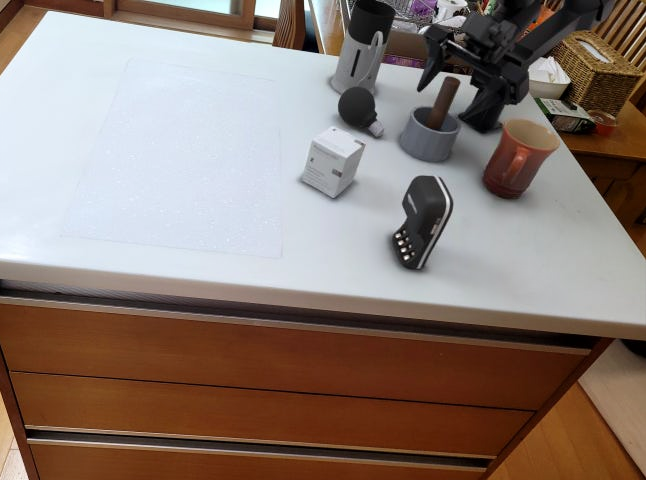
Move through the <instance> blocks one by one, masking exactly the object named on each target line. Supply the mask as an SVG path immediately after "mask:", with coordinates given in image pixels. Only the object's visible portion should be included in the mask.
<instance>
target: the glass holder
mask: <svg viewBox="0 0 646 480" xmlns="http://www.w3.org/2000/svg"><path fill="white" fill-rule="evenodd" d="M396 13H397V10H396V8H394V7H393V6H392V5H390V4H388V3H386V2H385V1H381V0H355V1H354V3H353V7H352V11H351V14H350V19H349V22H348V26H347V27H346V30H345V34H344V37H343V42H342V46H341V49H340V54H339V58H338V61H337V65H336V69H335V72H334V75H333V77H332V78H331V79H330V86H331V87H332V88H333V90H334V91H336V92H338V93H340V94H341V95H342V94H343V93H344V92H345V91H346V90H347V89H349V88H352V87H363V88H365V89H367V90H369V91H370V92H371V94H372V95H373V96H374V95H375V92H376V91H375V84H376V80H377V78H378V75H379V70H380V68H381V64H382V61H383V58H384V55H385V52H386V49H387V47H388V46H387V45H388V43H389V38H390V34H391V30H392V27H393V24H394V20H395V17H396Z"/></svg>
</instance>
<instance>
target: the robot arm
mask: <svg viewBox="0 0 646 480" xmlns="http://www.w3.org/2000/svg"><path fill="white" fill-rule="evenodd" d="M549 1H550V2H553V3H555V2H558V1H559V0H549ZM498 2H499V6H498V7H497V8H496V9H495V10H494V11H493V12H492V14H489V13H487V14H486V15H484V14H481V13H479V12H477V11H475V10H473V9H471V10H470V11H469V13H468V15H467V16H466V18H465V20H464V21H463V23H462V24H461V25H460V28H459V29H458V31H459V32H460V33H463V34H465V35H464V36H462V40H463V43H465V44H466V45H464V46H463V45H462V44H459V43H457V42H456V39H455V34H454V31H452V30H451V29H449V28H447V27H446V26H443V25H442V24H441V23H438V22H436V23H432V24H430V25H429V26H428V27H427V28H426V30H425V31H424V32H423V33H422V36H423V40H424V43H425V47H426V51H427V54H428V56H427V60H426V63H425V66H424V69H423V71H422V74H421V76H420V78H419V81H418V84H417V87H416V92H417V93H418V94H419V93H421V92H423V91H424V90H425V89H426V88H427V87H428V86H429V85H430V84H431V82H432V81H434V80H435V78H436V77H437V76H438V75H439V74H440V73H441V72H442V70H443V69H444V68H445V67H446V62H445V61H449V60H450V59H451V58H452V57H453V58H455V59H457V60H458V61H460V62H462V63H464V64H465V65H468V66H469V67H472V68H473V69H472V73H471V77H470V81H469V85H470V86H473V87H475V88H476V89H477V90H476V93H475V95H474V96H473V99H472V100H471V103H470V104H469V105H468V106H467V107H466V109H465V110H464V111H463V112H459V113H458V114H457V118H459V119H461V120H462V121H464V122H465V123H466V124H468V125H469V126H471V127H472V128H474V129H475V130H476V131H478V132H479V133H481V134H485V133H489V132H492V131H494V130H497V129H498V130H499V129H501V128H502V129H503V124H504V123H502V122H500V121H499V119H500V117H501V114H502V112H503V111H504V109H505V108H506V106H507V107H508V106H510V105H512V106H517V105H518V104H521V102H522V101H523V100H524V99H525V98H526V97H527V95H528V94H529V91H530V71H529V69H530V67H531V66H532V65H533V64H534V63H536V62H537V61H538V60H540V59H541V58H542V57H544V55H546V54H547V53H548V52H549V51H551V50H552V49H554V47H556V46H557V45H559V43H561V42H562V41H564V40H565V39H566V38H567V37H569V36H570V35H571V34H572V33H574V32H587V31H590V30H591V29H593V28H595V27H597V26H598V25H599V24H600V23H601V24H602V23H604V22H605V20H607V19H608V17H609V16H610V14H611V13H612V11H613V9H614V6H615V3H616V0H561V4H560V7H559V9H557V10H556V11H554V13H552V14H551V15H550V16H548V17H547V18H546V19H545V20H543V21H542V22H540V23H539V24H538V25H536V26H535V27H534V28H533V29H531V30H530V31H529V32H527V33H526V34H525V35H523V34H524V33H525V32H526V31H527V30H528V28H529V27H530V26H531V25H532V24H534V25H535V24H536V23H538V20H539V18H540V14H541V12H542V0H498ZM522 35H523V36H522ZM521 36H522V37H521Z"/></svg>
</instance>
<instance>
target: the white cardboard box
mask: <svg viewBox="0 0 646 480" xmlns="http://www.w3.org/2000/svg"><path fill="white" fill-rule="evenodd" d="M366 146H367V142H365V141H363V140H361V139H359V138H357V137H355V135H353V134H352V133H349V132H347V131H344V130H342V129H340V128H338V127H336V126H335V125H331V126H330V127H328V128H327V129H326V130H324V131H323V132H322V133H320V134H319V135H317V136H315V137H314V138H313V139H312V140H311V144H310V148H309V151H308V155H307V159H306V162H305V165H304V170H303V173H302V177H301V181H302V182H304V183H306V184H307V185H309V186H311V187H312V188H315V189H317V190H318V191H320V192H322V193H323V194H325V195H327V196H328V197H330V198H332V199H335V198H336V197H337V196H339V194H341V193H342V192H343V191H344V190H346V188H348V187H349V186H350V185H351V184H352V183H353V182H354V179H355V176H356V174H357V170H358V168H359V165H360V163H361V160H362V157H363V154H364V151H365V148H366Z"/></svg>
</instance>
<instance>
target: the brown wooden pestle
mask: <svg viewBox="0 0 646 480" xmlns="http://www.w3.org/2000/svg"><path fill="white" fill-rule="evenodd" d="M461 84H462V83H461V80H460V79H459V78H457V77H455V76H452V75H447V76H444V78H443V81H442V84H441V86H440V88H439V90H438V94H437V96H436V99H435V102H434V104H433V105H432V107H433V108H432V110H431V113H430V115H429V118H428V120H427V122H426V123H422V125H423V126H425V127H427V128H429V129H431V130H435V131H439V132H444V131H443V129H442V128H441V127H442V125H443V122H444V120H445V118H446V116H447V113H448V112H449V111H450V110H451V109H450V108H451V106H452V105H453V102H454V99H455V97H456V95H457V92H458V91H459V88H460V86H461Z"/></svg>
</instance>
